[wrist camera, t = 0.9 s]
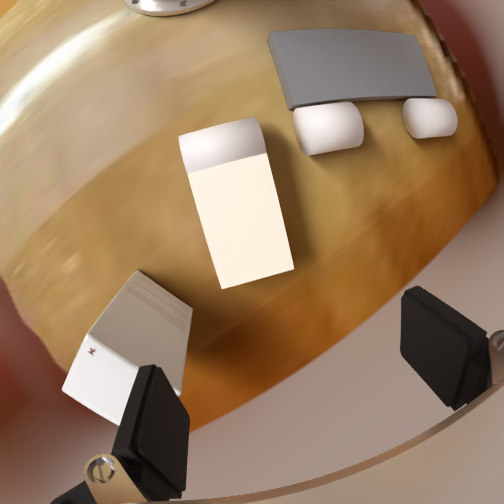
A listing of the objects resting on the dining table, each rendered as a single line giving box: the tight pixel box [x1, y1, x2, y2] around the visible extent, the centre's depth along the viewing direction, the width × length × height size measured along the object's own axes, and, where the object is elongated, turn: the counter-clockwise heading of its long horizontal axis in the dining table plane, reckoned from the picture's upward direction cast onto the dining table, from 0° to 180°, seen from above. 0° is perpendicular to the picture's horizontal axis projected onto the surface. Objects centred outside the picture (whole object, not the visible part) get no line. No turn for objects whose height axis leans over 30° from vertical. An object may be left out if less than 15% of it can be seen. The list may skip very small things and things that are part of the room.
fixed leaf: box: [267, 29, 457, 156], centre depth 22 cm, size 13×18×4 cm
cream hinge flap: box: [179, 117, 294, 289], centre depth 24 cm, size 13×6×4 cm, turn 14°
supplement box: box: [62, 270, 193, 425], centre depth 22 cm, size 7×7×13 cm
